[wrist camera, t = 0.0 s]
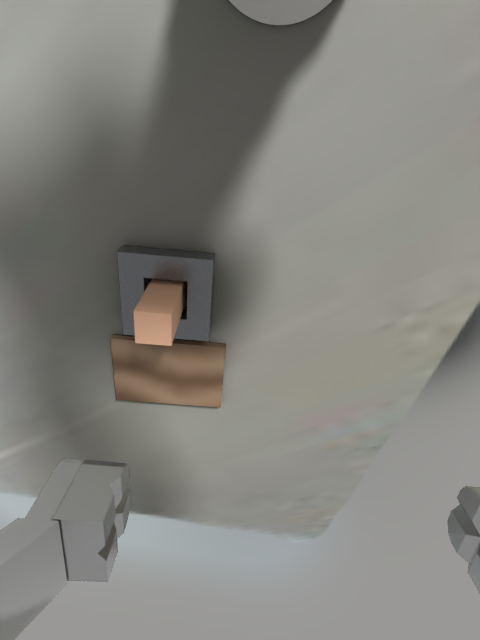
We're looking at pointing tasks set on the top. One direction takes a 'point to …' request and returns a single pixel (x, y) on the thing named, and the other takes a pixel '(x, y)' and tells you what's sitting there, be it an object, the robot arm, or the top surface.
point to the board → (168, 371)
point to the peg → (159, 312)
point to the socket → (168, 266)
